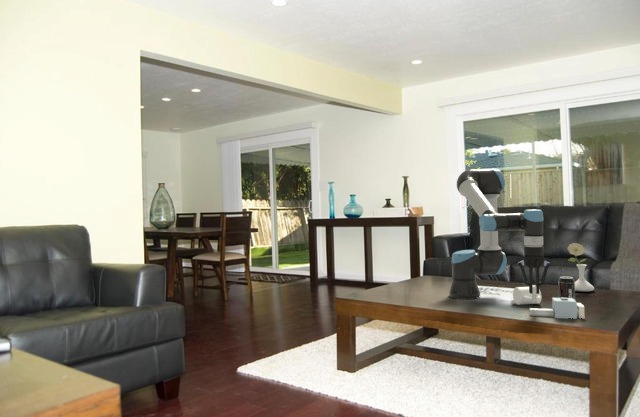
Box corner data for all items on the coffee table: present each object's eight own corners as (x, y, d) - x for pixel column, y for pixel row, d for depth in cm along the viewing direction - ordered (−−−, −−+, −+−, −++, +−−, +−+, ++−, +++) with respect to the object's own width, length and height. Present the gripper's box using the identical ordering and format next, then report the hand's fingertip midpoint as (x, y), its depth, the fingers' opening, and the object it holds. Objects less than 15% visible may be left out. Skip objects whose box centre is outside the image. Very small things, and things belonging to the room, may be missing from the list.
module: (555, 318, 204) (554, 299, 204) (552, 313, 211) (552, 296, 211) (576, 318, 202) (576, 300, 202) (573, 314, 209) (572, 296, 209)
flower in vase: (598, 291, 257) (597, 243, 257) (587, 294, 251) (586, 244, 250) (573, 288, 268) (573, 241, 267) (562, 290, 261) (561, 243, 261)
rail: (531, 316, 207) (531, 304, 207) (529, 313, 214) (529, 301, 214) (584, 318, 201) (584, 306, 201) (580, 314, 208) (580, 303, 208)
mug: (512, 302, 236) (512, 286, 236) (533, 301, 237) (532, 285, 236) (525, 308, 224) (525, 290, 224) (546, 307, 225) (546, 289, 224)
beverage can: (576, 304, 228) (575, 278, 227) (559, 304, 230) (559, 278, 230) (574, 301, 234) (573, 276, 234) (558, 301, 236) (557, 275, 236)
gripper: (518, 246, 209) (518, 302, 209) (551, 247, 205) (552, 303, 206) (516, 244, 216) (516, 298, 217) (549, 245, 212) (549, 299, 213)
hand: (534, 301), depth 211 cm, fingers closed
